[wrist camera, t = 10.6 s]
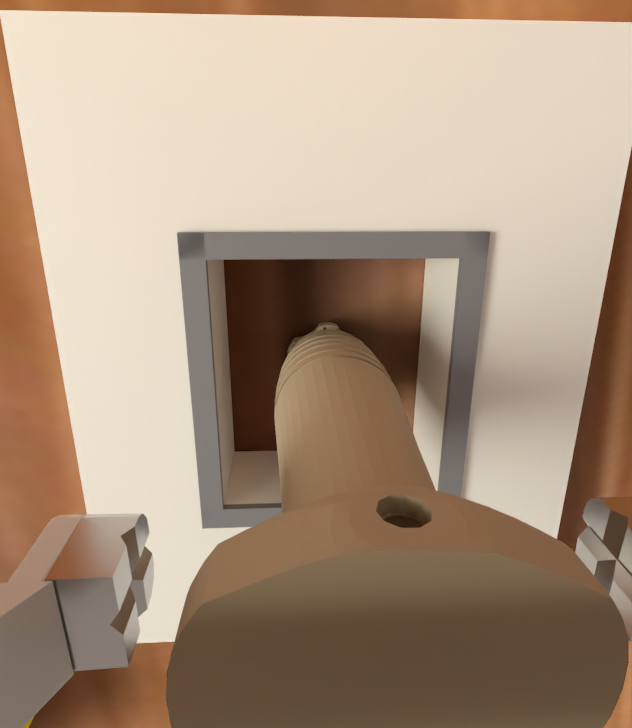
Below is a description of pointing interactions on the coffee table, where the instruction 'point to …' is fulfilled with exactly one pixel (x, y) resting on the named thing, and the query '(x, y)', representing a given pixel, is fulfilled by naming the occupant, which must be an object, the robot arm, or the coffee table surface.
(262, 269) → the coffee table surface
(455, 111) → the socket board
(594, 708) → the handle
